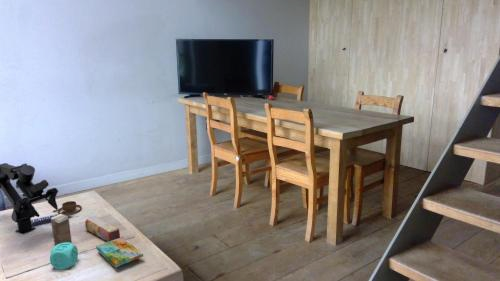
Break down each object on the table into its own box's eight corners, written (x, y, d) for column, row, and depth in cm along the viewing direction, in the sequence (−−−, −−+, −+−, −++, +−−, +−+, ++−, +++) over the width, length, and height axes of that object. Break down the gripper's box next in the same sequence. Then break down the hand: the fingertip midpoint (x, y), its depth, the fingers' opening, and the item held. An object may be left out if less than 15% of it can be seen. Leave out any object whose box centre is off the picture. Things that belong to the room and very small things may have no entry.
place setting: (91, 208, 218) (90, 198, 217) (66, 224, 199) (65, 214, 198) (64, 206, 222) (62, 196, 221) (37, 221, 204) (35, 210, 202)
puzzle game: (121, 235, 177) (142, 251, 163) (122, 244, 179) (143, 262, 164) (95, 244, 170) (115, 262, 155) (97, 253, 171) (116, 273, 157)
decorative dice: (79, 259, 167) (76, 241, 165) (71, 269, 159) (68, 251, 157) (60, 259, 166) (57, 242, 164) (51, 270, 159) (48, 252, 157)
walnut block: (54, 247, 176) (50, 218, 173) (64, 242, 181) (60, 213, 177) (62, 249, 174) (58, 220, 171) (72, 244, 179) (68, 216, 175)
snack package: (121, 239, 183) (120, 226, 181) (108, 245, 178) (107, 231, 176) (97, 226, 196) (96, 213, 195) (85, 231, 191) (83, 218, 190)
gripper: (13, 182, 169) (34, 208, 166) (51, 170, 186) (72, 194, 182) (6, 199, 174) (26, 224, 171) (44, 186, 191) (63, 209, 187)
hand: (48, 212), depth 178 cm, fingers open, 9 cm apart
